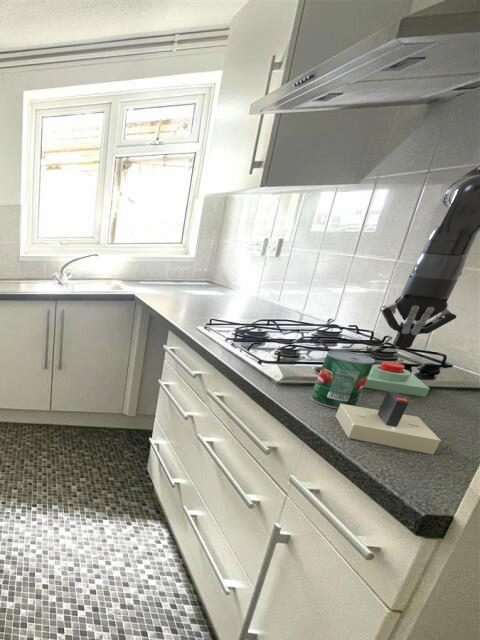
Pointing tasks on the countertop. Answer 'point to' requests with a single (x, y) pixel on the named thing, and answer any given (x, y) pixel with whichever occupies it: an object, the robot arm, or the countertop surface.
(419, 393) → the button block
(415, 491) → the countertop surface
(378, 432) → the panel
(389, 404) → the oven knob
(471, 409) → the countertop surface
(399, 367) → the button
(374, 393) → the countertop surface
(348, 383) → the canned tomato
